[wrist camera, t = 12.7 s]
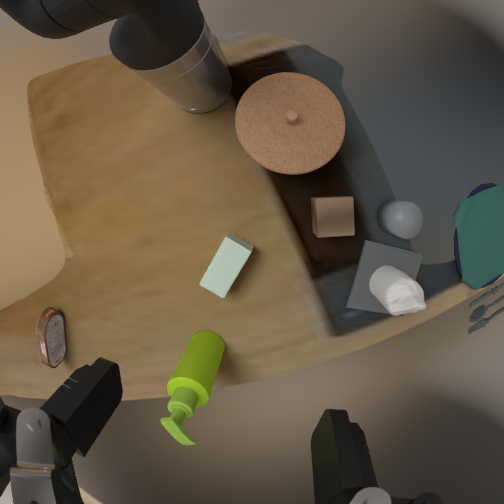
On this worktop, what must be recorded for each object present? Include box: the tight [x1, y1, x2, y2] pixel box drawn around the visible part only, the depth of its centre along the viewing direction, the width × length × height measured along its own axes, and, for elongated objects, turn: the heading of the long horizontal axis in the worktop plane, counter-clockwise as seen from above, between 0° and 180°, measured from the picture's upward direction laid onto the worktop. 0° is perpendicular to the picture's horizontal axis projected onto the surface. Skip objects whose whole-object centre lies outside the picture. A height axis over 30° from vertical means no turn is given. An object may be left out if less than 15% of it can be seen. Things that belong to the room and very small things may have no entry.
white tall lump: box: [369, 265, 426, 316], centre depth 33 cm, size 6×12×6 cm
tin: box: [36, 307, 66, 368], centre depth 44 cm, size 15×3×8 cm, turn 163°
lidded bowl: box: [235, 72, 346, 175], centre depth 31 cm, size 13×13×11 cm
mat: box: [346, 240, 423, 316], centre depth 39 cm, size 11×11×1 cm
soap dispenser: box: [161, 330, 225, 445], centre depth 35 cm, size 6×7×20 cm
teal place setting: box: [454, 183, 504, 334], centre depth 36 cm, size 20×30×2 cm, turn 22°
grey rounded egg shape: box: [377, 200, 423, 239], centre depth 34 cm, size 5×5×6 cm
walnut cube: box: [311, 196, 355, 238], centre depth 36 cm, size 5×5×5 cm
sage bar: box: [200, 232, 254, 298], centre depth 39 cm, size 8×4×4 cm, turn 150°
